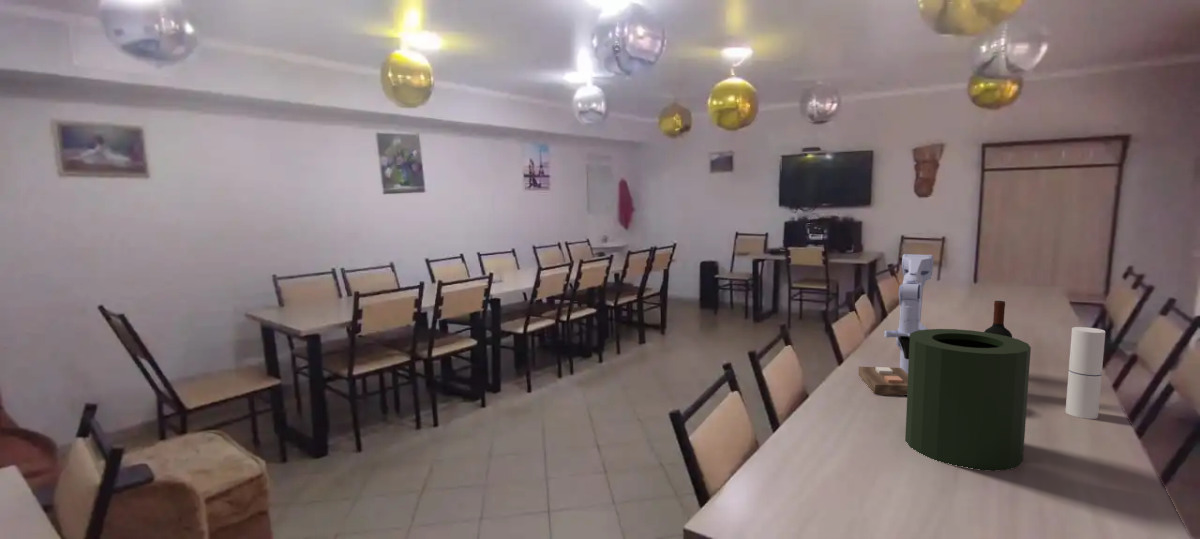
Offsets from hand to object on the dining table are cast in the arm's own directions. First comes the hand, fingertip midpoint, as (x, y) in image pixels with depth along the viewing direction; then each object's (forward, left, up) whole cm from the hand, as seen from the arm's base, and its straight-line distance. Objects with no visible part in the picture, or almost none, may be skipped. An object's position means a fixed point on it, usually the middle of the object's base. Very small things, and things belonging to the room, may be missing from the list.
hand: (907, 358), depth 187 cm
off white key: (+6, -4, -8) cm, 11 cm away
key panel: (+6, +1, -9) cm, 11 cm away
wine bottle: (-25, +4, -10) cm, 27 cm away
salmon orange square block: (+6, +6, -8) cm, 12 cm away
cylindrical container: (-40, +21, -10) cm, 46 cm away
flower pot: (+3, +49, -10) cm, 50 cm away
